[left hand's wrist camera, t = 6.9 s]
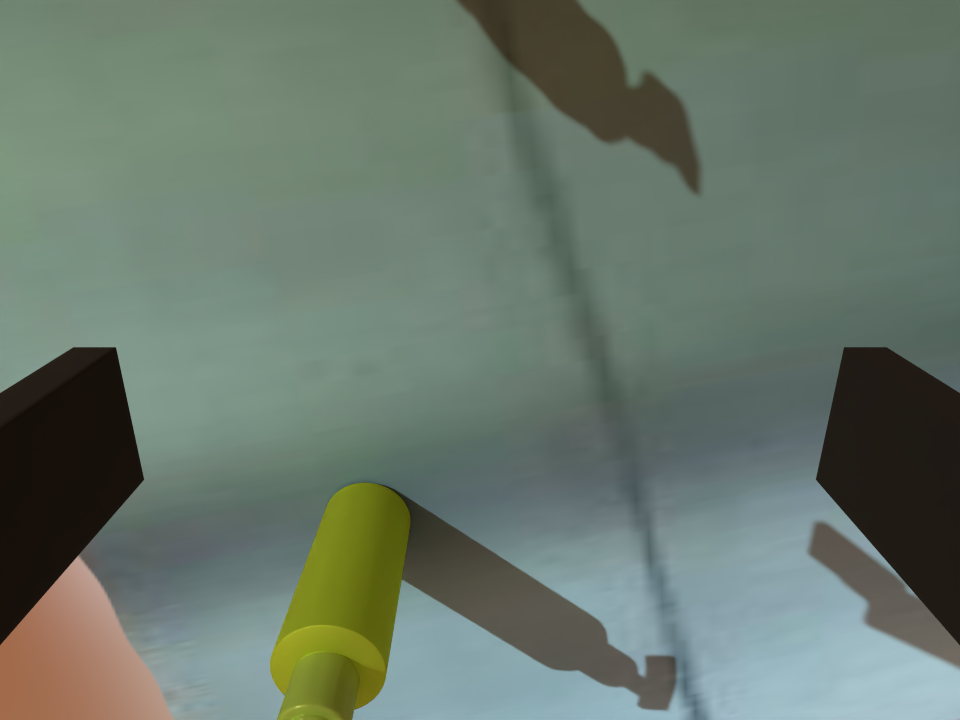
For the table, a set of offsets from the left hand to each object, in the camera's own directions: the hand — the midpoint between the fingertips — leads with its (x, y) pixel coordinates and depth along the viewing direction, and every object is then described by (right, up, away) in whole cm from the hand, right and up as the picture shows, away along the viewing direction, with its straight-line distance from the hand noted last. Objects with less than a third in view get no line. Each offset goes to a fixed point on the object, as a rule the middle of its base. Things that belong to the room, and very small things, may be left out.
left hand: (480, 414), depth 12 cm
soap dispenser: (-8, -9, +34) cm, 36 cm away
